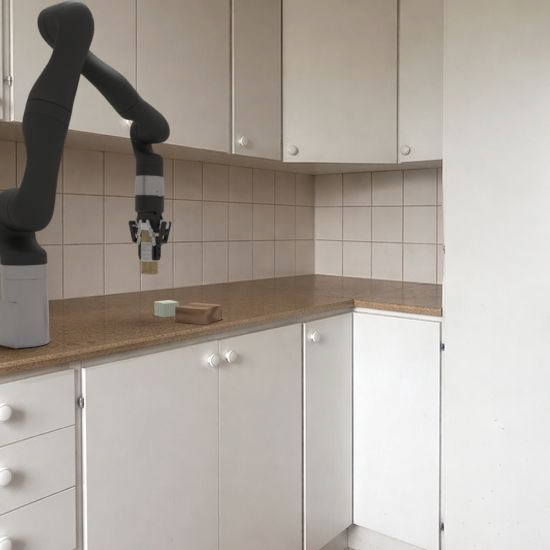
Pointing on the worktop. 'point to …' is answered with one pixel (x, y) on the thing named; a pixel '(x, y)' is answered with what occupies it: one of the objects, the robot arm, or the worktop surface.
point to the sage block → (165, 308)
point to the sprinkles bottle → (147, 252)
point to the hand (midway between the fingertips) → (149, 259)
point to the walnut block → (198, 313)
